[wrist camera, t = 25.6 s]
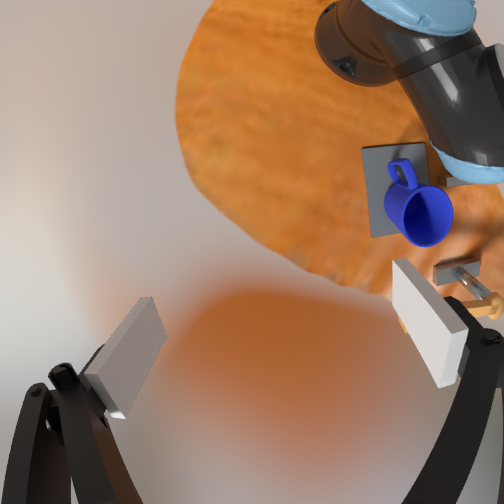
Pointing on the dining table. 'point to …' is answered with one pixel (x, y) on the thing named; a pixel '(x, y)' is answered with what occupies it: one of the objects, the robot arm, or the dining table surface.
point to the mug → (417, 207)
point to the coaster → (388, 180)
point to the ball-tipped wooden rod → (481, 307)
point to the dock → (463, 268)
